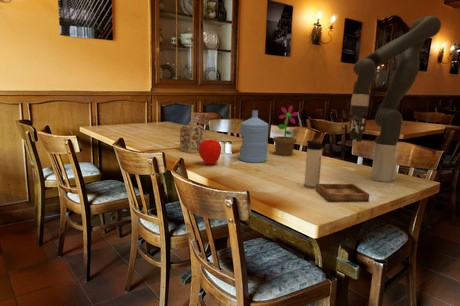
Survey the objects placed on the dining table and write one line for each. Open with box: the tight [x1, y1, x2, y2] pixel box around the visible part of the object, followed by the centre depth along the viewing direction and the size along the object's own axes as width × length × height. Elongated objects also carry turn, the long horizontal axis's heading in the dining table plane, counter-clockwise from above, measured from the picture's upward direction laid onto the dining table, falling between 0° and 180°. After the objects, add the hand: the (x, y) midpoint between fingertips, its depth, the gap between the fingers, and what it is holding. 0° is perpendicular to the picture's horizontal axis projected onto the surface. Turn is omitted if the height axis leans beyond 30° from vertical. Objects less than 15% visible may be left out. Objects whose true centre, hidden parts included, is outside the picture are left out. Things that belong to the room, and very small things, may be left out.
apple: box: [198, 139, 222, 166], centre depth 188 cm, size 12×12×13 cm
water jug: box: [238, 109, 269, 164], centre depth 199 cm, size 16×16×28 cm
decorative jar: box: [179, 121, 207, 154], centre depth 220 cm, size 12×12×18 cm
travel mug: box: [303, 139, 323, 189], centre depth 152 cm, size 6×7×20 cm
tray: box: [315, 183, 370, 203], centre depth 142 cm, size 16×14×3 cm
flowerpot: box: [272, 105, 299, 157], centre depth 217 cm, size 14×14×30 cm
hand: (355, 140), depth 163 cm, fingers open, 8 cm apart
